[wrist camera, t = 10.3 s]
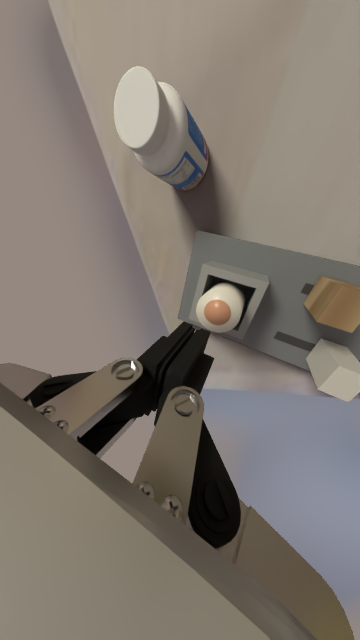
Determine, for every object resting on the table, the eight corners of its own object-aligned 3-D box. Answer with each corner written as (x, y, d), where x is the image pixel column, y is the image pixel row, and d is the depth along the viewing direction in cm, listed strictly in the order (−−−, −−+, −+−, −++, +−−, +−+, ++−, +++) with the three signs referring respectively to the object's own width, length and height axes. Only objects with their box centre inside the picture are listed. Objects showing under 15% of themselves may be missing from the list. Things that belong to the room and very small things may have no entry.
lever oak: (349, 282, 15) (382, 296, 11) (329, 311, 17) (351, 333, 13) (320, 275, 16) (341, 286, 12) (303, 303, 17) (316, 321, 13)
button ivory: (251, 288, 17) (248, 299, 13) (236, 322, 18) (231, 339, 15) (213, 277, 18) (201, 284, 14) (203, 310, 20) (191, 323, 16)
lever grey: (346, 347, 17) (374, 379, 13) (329, 367, 19) (348, 402, 15) (321, 338, 18) (339, 366, 14) (305, 358, 19) (317, 389, 15)
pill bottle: (173, 128, 19) (107, 41, 11) (216, 136, 18) (178, 43, 10) (163, 187, 22) (104, 152, 14) (200, 197, 20) (159, 165, 12)
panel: (481, 293, 14) (630, 325, 9) (375, 384, 20) (422, 440, 14) (204, 231, 22) (183, 226, 16) (185, 311, 27) (164, 329, 22)
